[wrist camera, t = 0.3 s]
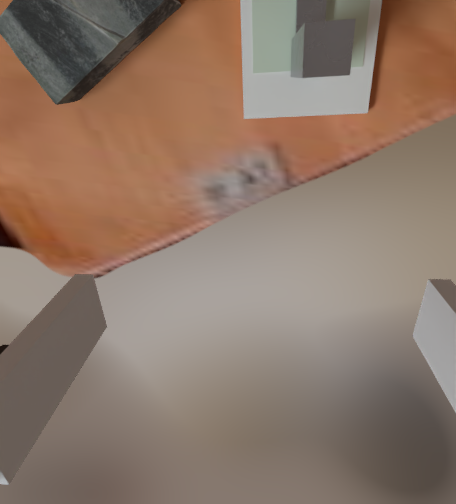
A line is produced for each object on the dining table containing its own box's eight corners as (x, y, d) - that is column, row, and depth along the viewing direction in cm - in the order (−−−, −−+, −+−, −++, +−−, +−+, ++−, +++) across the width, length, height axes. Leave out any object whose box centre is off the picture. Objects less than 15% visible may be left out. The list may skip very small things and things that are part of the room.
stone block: (14, 19, 33) (-26, 10, 28) (120, -99, 28) (91, -134, 24) (79, 102, 36) (51, 106, 31) (184, 7, 31) (170, -5, 27)
